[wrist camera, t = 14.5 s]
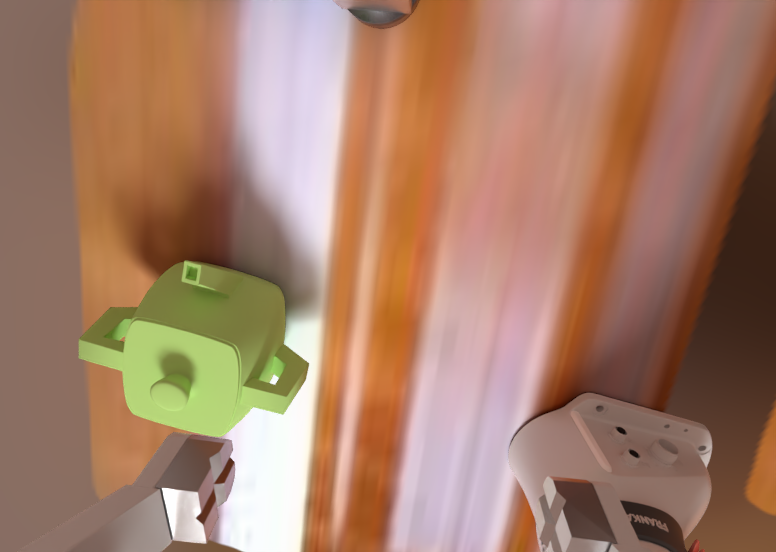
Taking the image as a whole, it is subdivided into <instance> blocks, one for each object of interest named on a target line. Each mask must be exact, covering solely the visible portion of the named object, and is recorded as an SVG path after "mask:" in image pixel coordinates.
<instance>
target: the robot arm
mask: <svg viewBox="0 0 776 552" xmlns="http://www.w3.org/2000/svg"><path fill="white" fill-rule="evenodd" d="M597 406H599V407H597ZM232 451H233V446H232V440H228V439H222V438H215V437H208V436H201V435H194V434H185V433H178V432H173V433H171V434H170V435H169V436H167V438H166V439H165V440H164V442H163V443H162V445H161V446H160V447H159V449H158V450H157V451H156V453H155V454H154V456H153V457H152V458H151V460H150V461H149V463H148V464H147V465H146V467H145V468H144V469H143V471H142V472H141V474H140V475H139V476H138V478H137V479H136V481H135V482H134V483H133V485H125V486H123V487H122V488H120V489H118V490H117V491H115V492H114V493H112V494H110V495H109V496H107V497H105V498H104V499H102V500H100V501H99V502H97V503H95V504H94V505H92V506H91V507H89V508H87V509H86V510H84V511H82V512H81V513H79V514H77V515H76V516H74V517H72V518H71V519H69V520H68V521H66V522H64V523H63V524H61V525H59V526H58V527H56V528H54V529H53V530H51V531H49V532H48V533H46V534H44V535H43V536H41V537H39V538H38V539H36V540H35V541H33V542H31V543H30V544H28V545H26V546H25V547H23V548H21V549H20V550H18V551H17V552H161V551H162V550H164V549H165V548H166V547H167V546H168V545H169V544H170V543H171V542H172V541H171V540H175V541H186V542H196V543H207V541H208V539H209V537H210V535H211V533H212V530H213V528H214V526H215V524H216V522H217V520H218V518H219V517H218V509H217V508H218V507H219V506H220V505H222V504H223V503H224V502H226V501H227V498H228V496H229V494H230V492H231V489H232V485H233V481H234V477H235V462H234V461H233V460H232V459H231V458H230V455H231V453H232ZM711 452H712V438H711V435H710V432H709V431H708V429H707V427H706V426H705V425H704V424H701V423H699V422H695V421H692V420H688V419H684V418H681V417H677V416H674V415H670V414H667V413H663V412H659V411H656V410H652V409H649V408H645V407H641V406H638V405H634V404H631V403H627V402H623V401H620V400H616V399H613V398H609V397H605V396H602V395H598V394H595V393H584V394H582V395H580V396H578V397H577V398H575V399H574V400H572V401H571V402H570V403H568V404H567V405H566V406H565V407H563V408H560V409H558V410H555V411H552V412H549V413H546V414H544V415H542V416H539V417H538V418H536V419H534V420H532V421H531V422H529V423H528V424H526V425H525V426H524V427H523V428H522V429H521V430H520V431H519V432H518V433H517V435H516V436H515V437H514V439H513V441H512V443H511V445H510V448H509V454H508V459H509V465H510V468H511V470H512V472H513V474H514V475H515V477H516V478H517V480H518V482H519V483H520V485H521V487H522V489H523V491H524V493H525V495H526V497H527V500H528V502H529V504H530V507H531V509H532V512H533V515H534V517H535V520H536V531H537V538H538V543H539V548H540V552H687V551H686V549H685V545H684V539H685V538H686V537H687V536H688V535H689V533H690V532H691V531H692V530H693V529H694V527H695V526H696V525H697V523H698V522H699V520H700V519H701V517H702V516H703V514H704V512H705V510H706V508H707V506H708V503H709V500H710V495H711V480H710V476H709V474H708V471H707V465H708V463H709V460H710V456H711ZM698 551H699V541H698V540H695V541H694V543H693V544H692V546H691V548H690V549H689V551H688V552H698ZM699 552H705V550H704V549H702V550H701V551H699Z"/></svg>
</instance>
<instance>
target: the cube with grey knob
mask: <svg viewBox="0 0 776 552" xmlns="http://www.w3.org/2000/svg"><path fill="white" fill-rule="evenodd" d="M333 1H334V2H335V3H336V4H337V5H338V6H340V7H341V8H342V9H353V10H366V11H380V12H393V13H406V14H411V7H412V0H333Z"/></svg>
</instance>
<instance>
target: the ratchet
mask: <svg viewBox="0 0 776 552" xmlns="http://www.w3.org/2000/svg"><path fill="white" fill-rule="evenodd" d="M418 3H419V0H412V7H411V14H412V13H413V11H414V10H415V8H416V7H417V5H418ZM348 10H349V11H350V12H351V13H352V14H353V15H354V16H355V17H356V18H357V19H358V20H359V21H361V22H362V23H364V24H366V25H368V26H370V27H373V28H379V29H385V28H391V27H394V26H397V25H399V24H400V23H402V22H403V21H405V20H406V19H407V18H408V17H409V16H410V15H411V14H406V13H393V12H380V11H366V10H353V9H348Z"/></svg>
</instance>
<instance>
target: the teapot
mask: <svg viewBox="0 0 776 552" xmlns="http://www.w3.org/2000/svg"><path fill="white" fill-rule="evenodd" d="M124 336H126V337H125V342H122V341H119V340H120V339H121V338H122V337H124ZM284 337H285V300H284V296H283V293H282V291H281V289H280V288H279V287H278V286H277V285H275V284H274V283H271V282H269V281H266V280H264V279H261V278H258V277H255V276H252V275H249V274H246V273H243V272H240V271H236V270H233V269H229V268H225V267H221V266H217V265H213V264H209V263H204V262H198V261H188V260H185V261H184V262H180V263H177V264H175V265H173V266H172V267H171V268H169V269H168V270H167V271H165V272H164V273H163V274H162V275H161V276H160V277H159V278H158V279H157V281H156V282H155V283H154V284H153V285H152V287H151V288H150V289H149V291H148V292H147V294H146V295H145V297H144V298H143V300H142V302H141V303H140V305H139V307H110V308H109V309H108V310H107V311H106V312H105V313H104V314H103V315H102V316H101V317H100V318H99V319H98V320H97V321H96V322H95V323H94V324H93V325H92V326H91V327H90V328H89V329H88V330H87V331H86V332H85V333H84V334H83V335H82V336H81V337H80V338H79V358H80V359H83V360H86V361H90V362H93V363H97V364H100V365H103V366H107V367H110V368H113V369H117V370H120V371H123V385H124V393H125V398H126V402H127V405H128V407H129V409H130V411H131V412H132V413H133V414H134V415H137V416H139V417H142V418H145V419H148V420H151V421H154V422H157V423H161V424H164V425H168V426H172V427H175V428H179V429H182V430H186V431H191V432H195V433H199V434H204V435H209V436H215V437H221V436H223V435H225V434H226V433H227V432H229V431H230V430H231V429H232V428H233V427H234V426H235V425H236V424H237V423H238V422H239V421H240V420H242V419H243V418H244V417H245V415H246V414H247V413H248V412H249V411H250V410H251V409H252V408H253V407H255V408H259V409H263V410H267V411H271V412H275V413H279V414H284V413H285V411H286V410H287V408H288V406H289V405H290V403H291V402H292V400H293V399H294V397H295V396H296V394H297V393H298V391H299V389H300V388H301V386H302V385H303V383H304V382H305V380H306V376H307V371H308V367H309V363H308V362H306V361H305V360H304V359H303V358H301V357H300V356H299V355H297V354H296V353H295V352H293V351H292V350H291V349H290V348H288V347H287V346H286V345H284V344H283V343H284ZM274 374H275V375H276V376H277V377H279V379H278V381H277V383H276V385H273V384H270V383H269V382H270V381H271V379H272V377H273V375H274Z"/></svg>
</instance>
